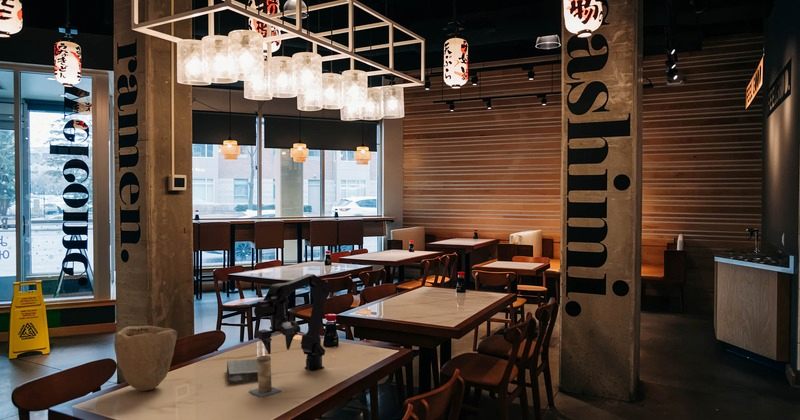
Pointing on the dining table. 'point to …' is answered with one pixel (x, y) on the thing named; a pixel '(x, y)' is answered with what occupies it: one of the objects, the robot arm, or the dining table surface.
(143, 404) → the dining table surface
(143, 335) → the bowl
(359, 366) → the dining table surface
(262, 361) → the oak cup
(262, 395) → the slate mat
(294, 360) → the dining table surface
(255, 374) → the stone block
